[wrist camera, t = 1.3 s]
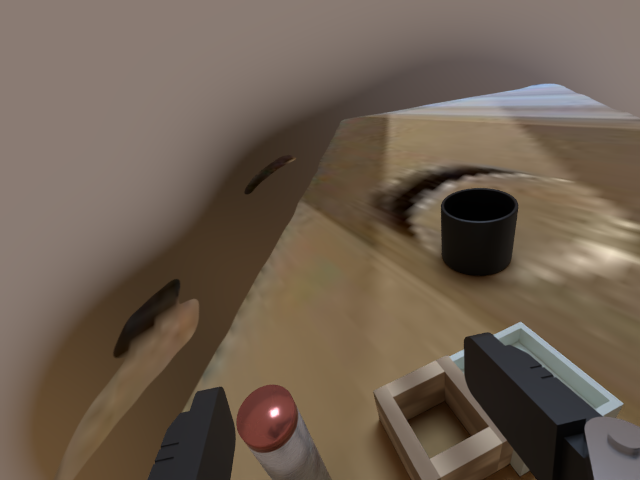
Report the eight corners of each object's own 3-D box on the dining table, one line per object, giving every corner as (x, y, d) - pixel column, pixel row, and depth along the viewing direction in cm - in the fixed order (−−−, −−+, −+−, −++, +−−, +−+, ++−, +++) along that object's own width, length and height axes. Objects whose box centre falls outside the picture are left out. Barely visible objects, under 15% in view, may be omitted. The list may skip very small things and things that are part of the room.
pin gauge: (330, 471, 29) (285, 375, 21) (346, 517, 26) (301, 426, 18) (293, 490, 29) (233, 399, 21) (305, 540, 26) (240, 456, 18)
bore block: (447, 384, 34) (447, 354, 31) (509, 463, 27) (516, 435, 24) (379, 418, 32) (373, 390, 30) (427, 511, 26) (425, 486, 23)
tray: (517, 338, 36) (520, 321, 35) (614, 421, 28) (623, 403, 26) (441, 376, 34) (440, 360, 33) (519, 476, 26) (524, 461, 25)
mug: (498, 227, 53) (503, 176, 48) (519, 276, 44) (528, 219, 39) (437, 231, 56) (436, 183, 51) (444, 277, 46) (444, 225, 41)
